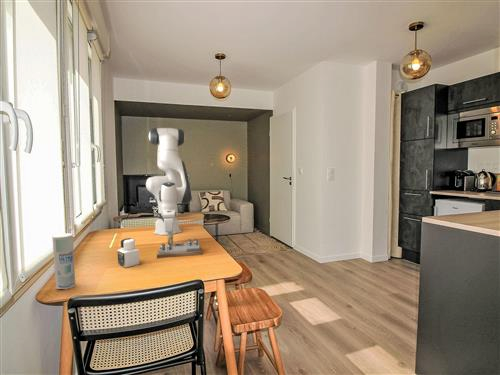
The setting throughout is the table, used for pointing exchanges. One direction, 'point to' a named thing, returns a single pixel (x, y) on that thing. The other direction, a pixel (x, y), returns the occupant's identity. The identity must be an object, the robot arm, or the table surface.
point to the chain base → (179, 254)
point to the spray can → (64, 260)
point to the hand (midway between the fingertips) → (170, 236)
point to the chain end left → (169, 249)
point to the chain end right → (187, 245)
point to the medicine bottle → (128, 253)
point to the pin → (170, 239)
